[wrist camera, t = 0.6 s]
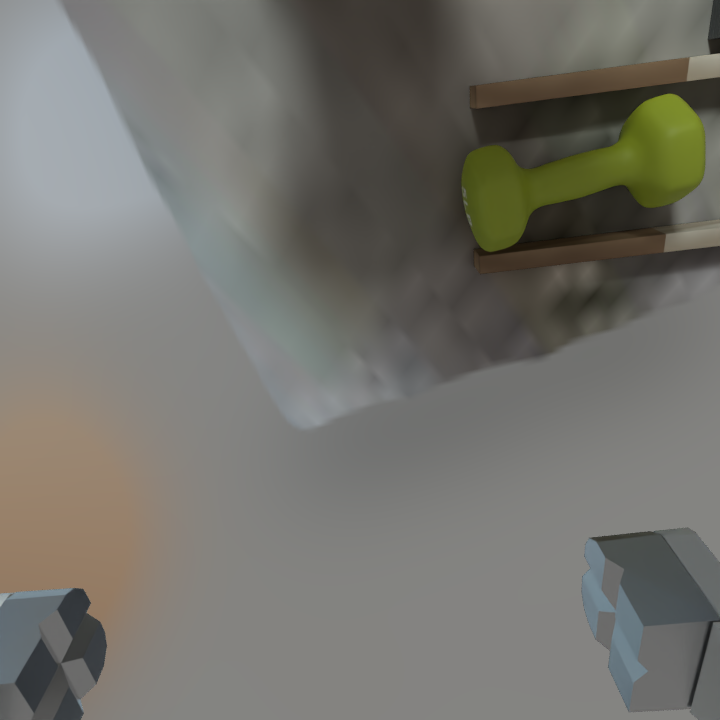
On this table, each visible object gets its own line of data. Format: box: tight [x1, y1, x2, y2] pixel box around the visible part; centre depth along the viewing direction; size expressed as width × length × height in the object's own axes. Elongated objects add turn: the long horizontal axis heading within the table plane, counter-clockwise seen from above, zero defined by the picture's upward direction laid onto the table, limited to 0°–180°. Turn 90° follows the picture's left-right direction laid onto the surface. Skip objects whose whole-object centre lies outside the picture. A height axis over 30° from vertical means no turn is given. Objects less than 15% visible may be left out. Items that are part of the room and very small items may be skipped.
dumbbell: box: [461, 94, 705, 252], centre depth 40 cm, size 16×8×7 cm, turn 105°
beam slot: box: [470, 53, 720, 274], centre depth 42 cm, size 14×26×2 cm, turn 97°
